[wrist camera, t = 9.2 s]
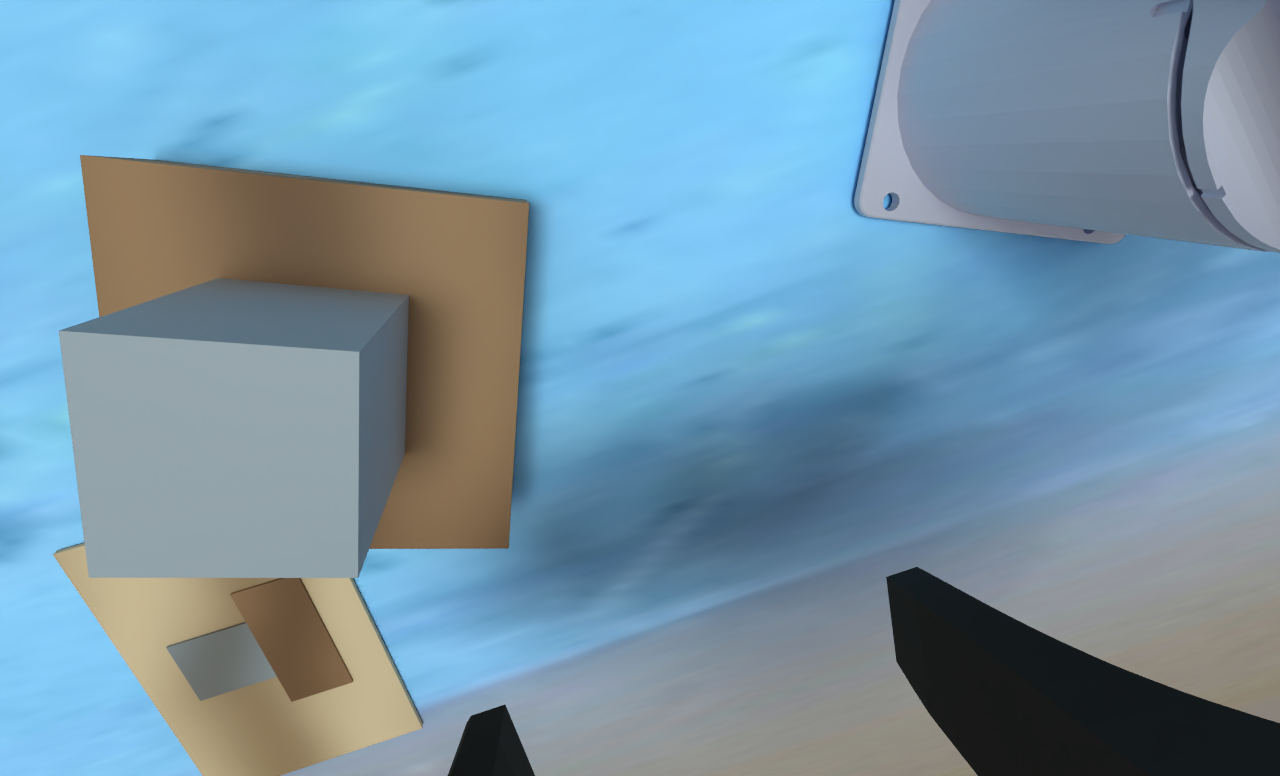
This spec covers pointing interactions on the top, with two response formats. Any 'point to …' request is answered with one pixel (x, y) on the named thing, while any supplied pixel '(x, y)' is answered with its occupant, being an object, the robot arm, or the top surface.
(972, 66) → the robot arm
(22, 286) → the top surface
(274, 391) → the gray brick
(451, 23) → the top surface
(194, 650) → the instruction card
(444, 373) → the walnut slab
